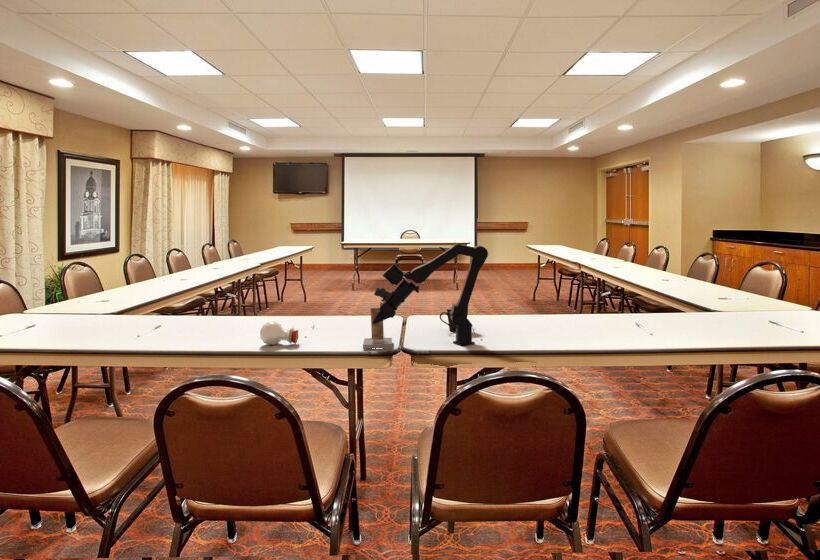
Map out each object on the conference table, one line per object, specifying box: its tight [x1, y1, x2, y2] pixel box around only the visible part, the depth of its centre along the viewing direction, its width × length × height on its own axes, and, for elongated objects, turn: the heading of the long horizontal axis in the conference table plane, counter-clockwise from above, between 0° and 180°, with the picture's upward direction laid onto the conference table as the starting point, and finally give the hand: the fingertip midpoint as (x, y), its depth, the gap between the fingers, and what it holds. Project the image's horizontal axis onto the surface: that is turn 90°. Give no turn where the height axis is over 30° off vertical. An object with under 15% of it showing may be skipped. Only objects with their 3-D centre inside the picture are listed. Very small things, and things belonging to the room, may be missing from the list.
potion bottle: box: [259, 321, 299, 346], centre depth 214 cm, size 9×10×15 cm
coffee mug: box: [439, 306, 457, 333], centre depth 232 cm, size 12×9×10 cm
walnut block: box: [370, 305, 385, 340], centre depth 207 cm, size 4×4×12 cm
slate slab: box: [362, 337, 393, 350], centre depth 208 cm, size 11×11×2 cm
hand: (373, 322), depth 207 cm, fingers closed on walnut block, 4 cm apart
